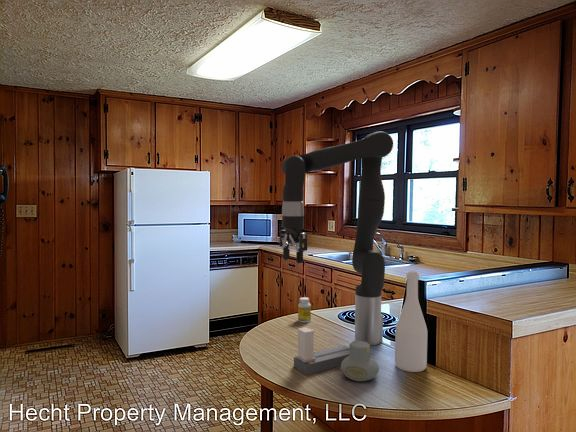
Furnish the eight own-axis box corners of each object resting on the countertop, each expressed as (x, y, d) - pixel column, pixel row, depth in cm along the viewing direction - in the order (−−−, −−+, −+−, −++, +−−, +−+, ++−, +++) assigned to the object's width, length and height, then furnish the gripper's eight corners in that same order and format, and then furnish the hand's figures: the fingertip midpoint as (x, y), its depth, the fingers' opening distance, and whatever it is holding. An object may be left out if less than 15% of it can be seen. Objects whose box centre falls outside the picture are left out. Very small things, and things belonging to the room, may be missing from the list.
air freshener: (380, 375, 129) (381, 342, 129) (374, 386, 122) (375, 351, 121) (345, 368, 134) (345, 337, 133) (337, 379, 126) (337, 346, 126)
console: (344, 353, 146) (344, 344, 145) (357, 361, 140) (358, 351, 140) (293, 366, 135) (293, 356, 135) (306, 374, 129) (306, 364, 129)
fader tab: (306, 354, 136) (306, 326, 136) (315, 360, 132) (315, 331, 131) (295, 357, 134) (295, 328, 134) (304, 362, 130) (304, 333, 129)
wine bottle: (427, 363, 138) (429, 269, 136) (425, 375, 129) (428, 275, 127) (396, 359, 141) (398, 267, 140) (393, 370, 133) (395, 273, 131)
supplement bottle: (305, 318, 185) (306, 296, 185) (313, 321, 181) (313, 298, 180) (295, 320, 183) (295, 297, 182) (302, 323, 178) (303, 300, 177)
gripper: (313, 215, 146) (313, 263, 147) (291, 213, 158) (290, 257, 159) (295, 216, 142) (294, 265, 143) (273, 213, 154) (273, 259, 155)
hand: (292, 261), depth 151 cm, fingers open, 8 cm apart
